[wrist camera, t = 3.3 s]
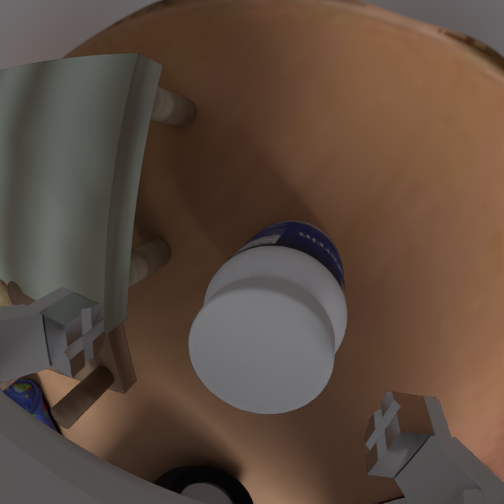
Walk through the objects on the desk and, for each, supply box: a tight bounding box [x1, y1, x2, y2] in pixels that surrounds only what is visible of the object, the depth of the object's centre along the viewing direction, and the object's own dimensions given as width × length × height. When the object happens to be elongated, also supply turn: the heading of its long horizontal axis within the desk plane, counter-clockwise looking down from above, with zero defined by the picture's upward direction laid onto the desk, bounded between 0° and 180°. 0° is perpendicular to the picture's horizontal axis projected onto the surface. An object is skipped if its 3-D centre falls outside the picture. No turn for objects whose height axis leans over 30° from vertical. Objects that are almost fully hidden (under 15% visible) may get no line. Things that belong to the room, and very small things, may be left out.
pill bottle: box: [188, 220, 347, 414], centre depth 14 cm, size 6×6×10 cm
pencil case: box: [2, 379, 57, 432], centre depth 28 cm, size 22×9×10 cm, turn 179°
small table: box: [0, 53, 196, 335], centre depth 16 cm, size 12×12×8 cm
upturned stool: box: [0, 281, 137, 429], centre depth 20 cm, size 12×12×8 cm
